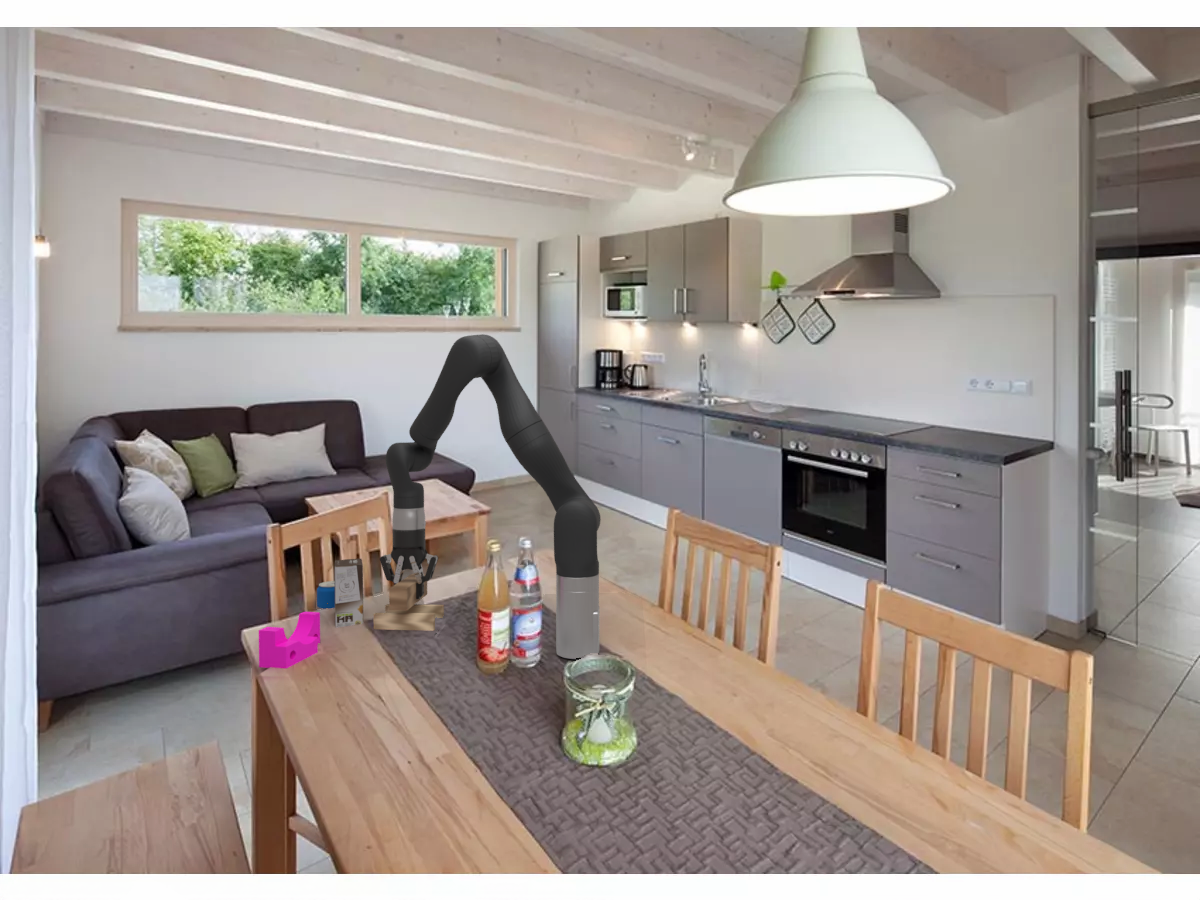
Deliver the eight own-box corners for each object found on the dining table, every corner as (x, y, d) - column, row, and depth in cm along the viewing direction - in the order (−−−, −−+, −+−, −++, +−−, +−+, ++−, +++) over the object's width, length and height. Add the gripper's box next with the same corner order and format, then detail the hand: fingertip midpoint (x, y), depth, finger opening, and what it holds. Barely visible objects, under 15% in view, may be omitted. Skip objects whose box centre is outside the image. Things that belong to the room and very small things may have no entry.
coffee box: (363, 632, 166) (363, 564, 165) (334, 635, 163) (334, 566, 163) (362, 622, 174) (362, 557, 174) (335, 624, 172) (334, 559, 172)
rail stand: (449, 623, 174) (449, 602, 173) (435, 638, 161) (435, 616, 160) (385, 622, 174) (385, 602, 174) (366, 637, 161) (366, 616, 161)
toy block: (286, 669, 141) (285, 632, 140) (259, 667, 142) (258, 630, 142) (330, 646, 155) (329, 613, 155) (305, 644, 156) (304, 611, 156)
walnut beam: (406, 610, 159) (406, 588, 159) (389, 610, 159) (389, 588, 159) (427, 594, 175) (427, 574, 175) (411, 594, 175) (411, 574, 175)
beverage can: (348, 627, 181) (347, 580, 180) (339, 634, 174) (339, 586, 174) (322, 626, 181) (322, 580, 180) (313, 634, 174) (312, 586, 174)
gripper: (373, 528, 163) (374, 602, 163) (434, 529, 163) (434, 602, 163) (384, 524, 170) (385, 594, 171) (442, 524, 170) (443, 595, 171)
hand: (409, 598), depth 167 cm, fingers closed on walnut beam, 4 cm apart
